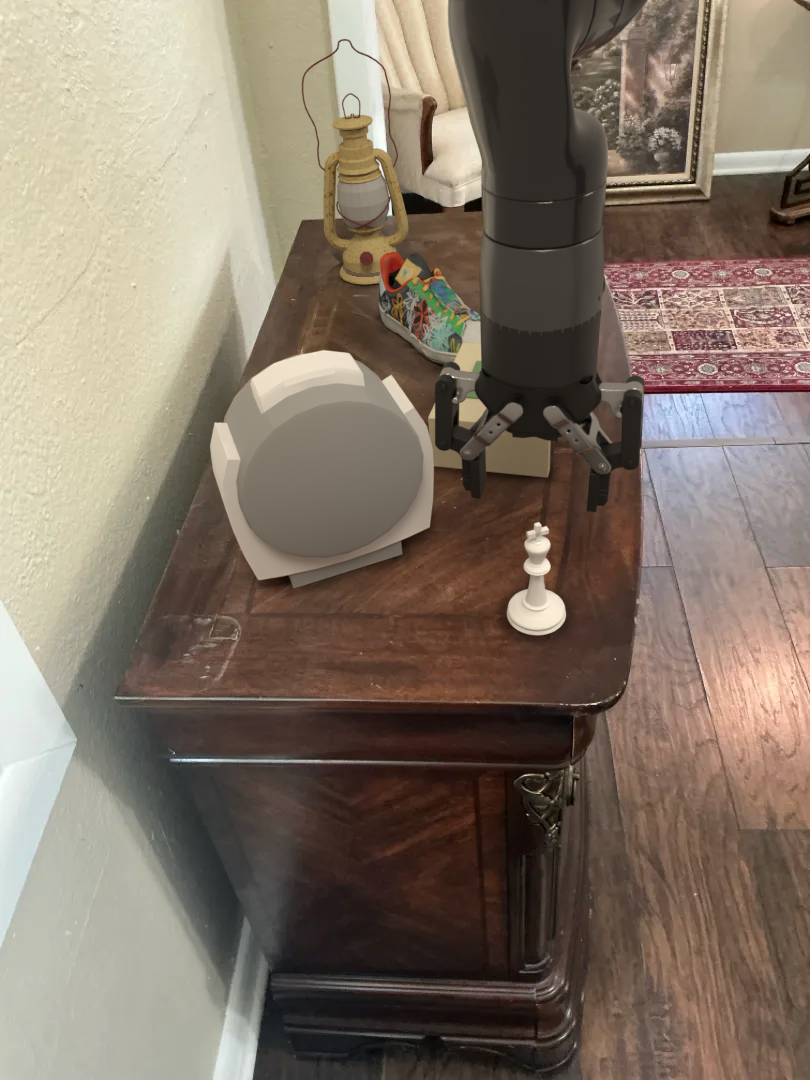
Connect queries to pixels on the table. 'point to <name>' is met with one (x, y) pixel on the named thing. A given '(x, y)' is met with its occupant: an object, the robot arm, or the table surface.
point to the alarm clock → (322, 468)
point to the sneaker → (424, 308)
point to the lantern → (361, 193)
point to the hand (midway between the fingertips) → (535, 498)
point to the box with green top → (505, 450)
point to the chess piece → (536, 591)
